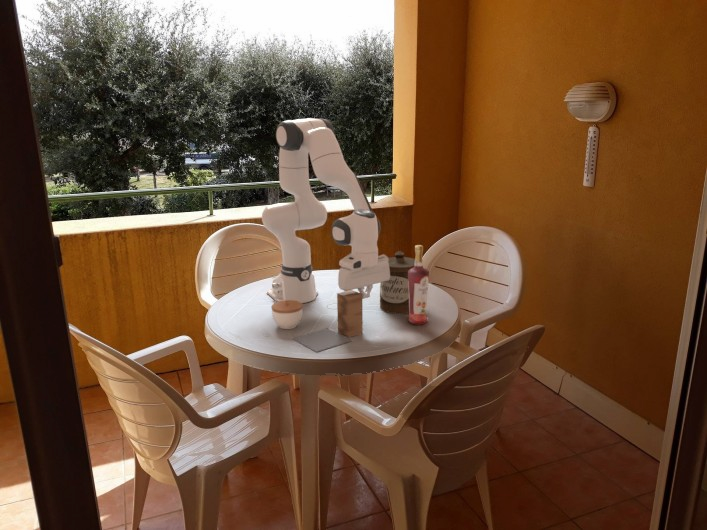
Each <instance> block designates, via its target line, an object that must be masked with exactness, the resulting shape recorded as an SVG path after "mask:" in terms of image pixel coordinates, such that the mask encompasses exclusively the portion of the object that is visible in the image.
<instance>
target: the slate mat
mask: <svg viewBox="0 0 707 530" xmlns="http://www.w3.org/2000/svg"><path fill="white" fill-rule="evenodd" d="M292 340H293V341H295V342H298V343H299V344H301V345H303V346H304V347H305V348H308V349H310V350H311V351H313V352H315V353H319V352H322V351H325V350H329V349H331V348H336V347H337V346H341V345H344V344H347V343H350V342H352V341H353V340H351V339H350V338H348V337H346V336H344V335H342V334H340V333H338V332H337V331H334V330H332V329H330V328H328V327H325V328H322V329H319V330H315V331H312V332H308V333H305V334H302V335H297V336H295V337H292Z"/></svg>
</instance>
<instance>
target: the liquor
mask: <svg viewBox="0 0 707 530" xmlns="http://www.w3.org/2000/svg"><path fill="white" fill-rule="evenodd" d="M414 252H415V258H414V259H415V266H414V268H411V269H410V270H409V271H408V289H409V313H408V318H407V321H409V323H411V324H412V325H415V326H421V324H422V325H424V324H425V323H426V322H427V321H428V318H427V307H428V306H427V304H428V294H429V293H428V292H429V280H430V271H429V270H428V269H427V268H425V267H424V263H423V261H424V260H423V252H424V246H423V245H421V244H416V245H415V246H414Z"/></svg>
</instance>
